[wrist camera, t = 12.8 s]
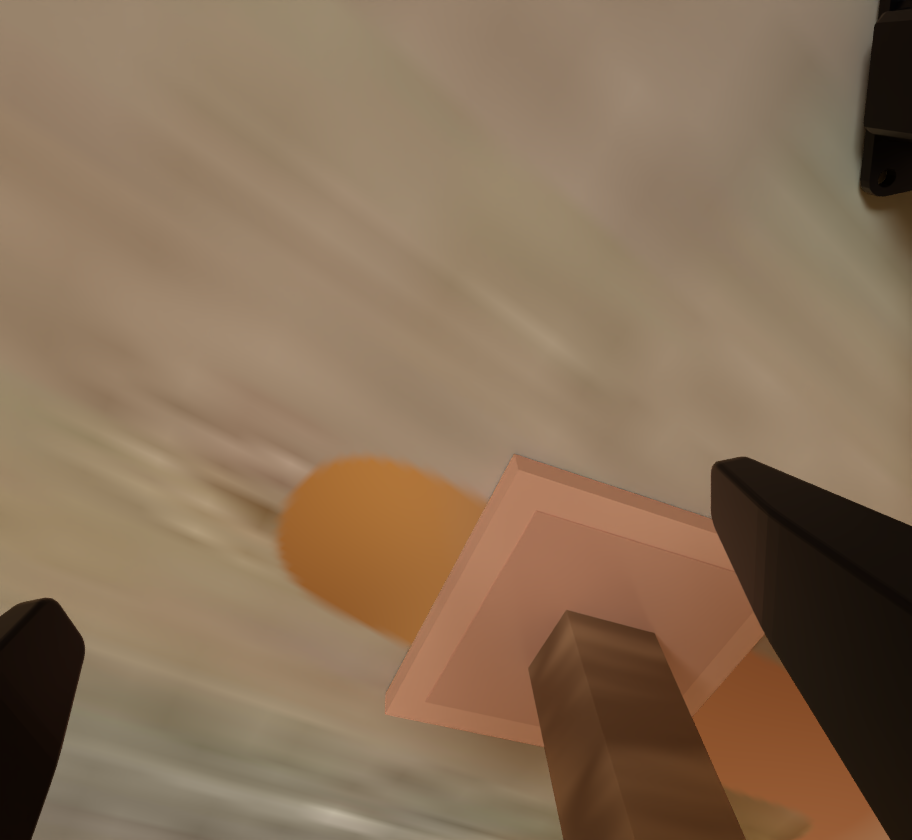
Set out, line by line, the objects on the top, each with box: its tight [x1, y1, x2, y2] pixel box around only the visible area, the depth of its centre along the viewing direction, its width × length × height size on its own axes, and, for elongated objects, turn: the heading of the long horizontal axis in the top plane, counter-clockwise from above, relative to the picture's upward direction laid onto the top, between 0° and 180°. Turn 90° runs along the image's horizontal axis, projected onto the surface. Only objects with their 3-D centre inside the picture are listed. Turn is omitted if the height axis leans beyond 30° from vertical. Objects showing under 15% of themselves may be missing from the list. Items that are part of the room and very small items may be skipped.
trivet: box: [385, 454, 765, 747], centre depth 26 cm, size 13×13×1 cm
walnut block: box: [528, 610, 746, 840], centre depth 21 cm, size 3×4×11 cm
